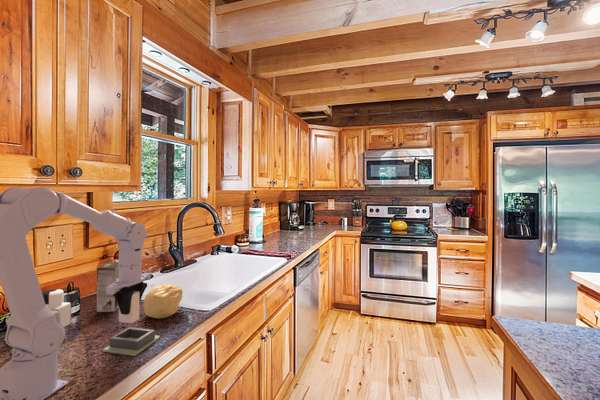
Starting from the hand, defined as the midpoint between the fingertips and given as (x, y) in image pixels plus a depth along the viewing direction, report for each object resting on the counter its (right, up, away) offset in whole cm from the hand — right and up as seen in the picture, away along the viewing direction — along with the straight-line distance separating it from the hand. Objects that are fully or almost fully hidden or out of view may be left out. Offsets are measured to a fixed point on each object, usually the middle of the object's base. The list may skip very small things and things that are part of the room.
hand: (129, 311), depth 83 cm
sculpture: (0, -9, +21) cm, 23 cm away
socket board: (+1, -9, 0) cm, 9 cm away
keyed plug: (0, -3, 0) cm, 3 cm away
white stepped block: (-30, -9, +9) cm, 33 cm away
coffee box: (-23, -9, +27) cm, 36 cm away
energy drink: (-17, -9, -8) cm, 21 cm away
